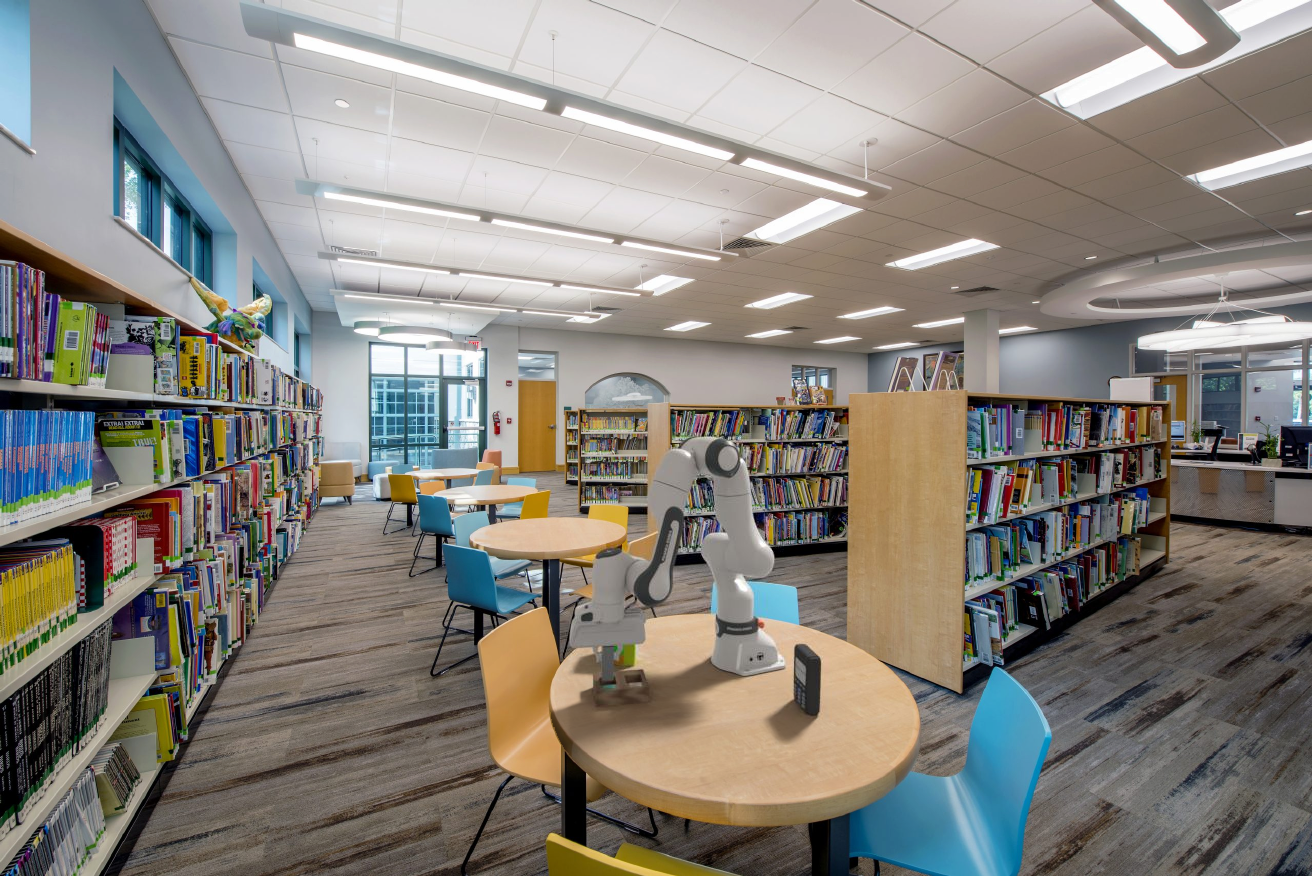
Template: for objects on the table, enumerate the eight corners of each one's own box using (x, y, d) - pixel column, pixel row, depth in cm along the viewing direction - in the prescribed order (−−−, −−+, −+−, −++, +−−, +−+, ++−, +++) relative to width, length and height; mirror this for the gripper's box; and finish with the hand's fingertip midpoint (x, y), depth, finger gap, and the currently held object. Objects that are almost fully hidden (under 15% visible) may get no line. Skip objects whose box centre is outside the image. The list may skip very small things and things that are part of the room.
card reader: (790, 697, 143) (792, 643, 142) (804, 696, 144) (806, 642, 143) (806, 716, 134) (807, 658, 133) (821, 715, 135) (822, 657, 134)
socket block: (642, 683, 150) (642, 668, 150) (649, 701, 140) (649, 686, 140) (593, 687, 147) (593, 672, 147) (596, 706, 137) (596, 690, 137)
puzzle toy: (638, 651, 170) (639, 620, 170) (634, 666, 160) (634, 633, 160) (608, 649, 171) (608, 619, 171) (601, 664, 161) (602, 631, 161)
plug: (612, 675, 144) (612, 642, 144) (613, 680, 141) (614, 646, 141) (601, 676, 144) (601, 643, 143) (602, 681, 141) (602, 647, 141)
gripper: (644, 603, 147) (643, 653, 148) (569, 607, 143) (569, 658, 144) (648, 612, 141) (647, 663, 141) (570, 616, 137) (569, 669, 137)
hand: (607, 660), depth 142 cm, fingers closed on plug, 3 cm apart
